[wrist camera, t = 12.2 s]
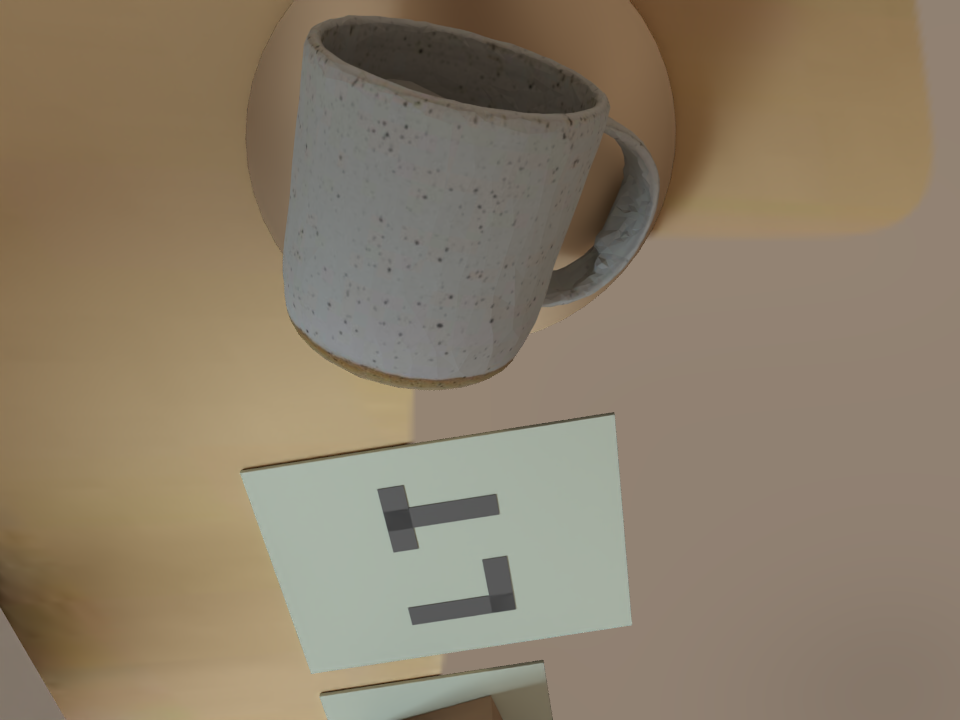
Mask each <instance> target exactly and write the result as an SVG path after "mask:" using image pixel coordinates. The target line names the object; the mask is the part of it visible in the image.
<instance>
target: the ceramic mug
mask: <svg viewBox="0 0 960 720" xmlns="http://www.w3.org/2000/svg"><path fill="white" fill-rule="evenodd" d="M609 111H610V104H609V101H608V98H607V96H606V94H605V93H604V92H602V91H601V90H600V89H599V88H598V87H597V86H596V85H595V84H594V83H592V82H591V81H589V80H588V79H586V78H585V77H583V76H582V75H581V74H579V73H577V72H576V71H574V70H572V69H570V68H568V67H566V66H563V65H561V64H559V63H558V62H556V61H554V60H552V59H550V58H547V57H544V56H541V55H539V54H537V53H535V52H532V51H529V50H527V49H524V48H522V47H519V46H516V45H514V44H511V43H507V42H502V41H498V40H494V39H491V38H487V37H484V36H481V35H478V34H476V33H473V32H469V31H465V30H461V29H456V28H451V27H446V26H441V25H436V24H432V23H429V22H425V21H413V20H410V19H400V18H388V17H381V16H356V15H347V16H344V17H341V18H335V19H329V20H326V21H324V22H321V23H319V24H317V25H315V26H314V27H312V28H311V29H310V31H309V33H308V35H307V38H306V40H305V43H304V48H303V60H302V71H301V82H300V95H299V105H298V112H297V120H296V129H295V140H294V150H293V159H292V171H291V186H290V200H289V207H288V215H287V223H286V231H285V239H284V251H283V277H284V289H285V300H286V306H287V311H288V314H289V317H290V319H291V322H292V324H293V325H294V327H295V329H296V330H297V332H298V334H299V335H300V336H301V337H302V338H303V339H304V341H305V342H306V343H307V344H308V345H309V346H310V347H311V348H312V349H313V350H315V351H316V352H317V353H318V354H320V355H321V356H322V357H323V358H325V359H326V360H328V361H330V362H332V363H334V364H336V365H337V366H339V367H341V368H343V369H345V370H347V371H349V372H351V373H352V374H354V375H356V376H358V377H361V378H364V379H368V380H371V381H375V382H378V383H382V384H386V385H390V386H394V387H398V388H408V389H418V390H445V389H452V388H461V387H465V386H468V385H472V384H476V383H478V382H481V381H484V380H487V379H489V378H491V377H492V376H494V375H496V374H497V373H499V372H501V371H502V370H504V369H505V367H507V366H508V365H509V364H510V363H511V362H512V360H513V359H514V357H515V356H516V354H517V353H518V351H519V350H520V348H521V347H522V345H523V344H524V342H525V340H526V339H527V337H528V335H529V333H530V332H531V330H532V328H533V326H534V325H535V323H536V320H537V318H538V315H539V312H540V310H541V307H553V306H557V305H565V304H569V303H572V302H574V301H577V300H579V299H582V298H585V297H588V296H590V295H592V294H594V293H595V292H597V291H598V290H600V289H601V288H602V287H603V286H605V285H606V284H607V283H609V282H610V281H611V280H612V279H613V278H614V277H615V276H617V275H618V274H619V273H620V272H621V271H622V270H623V269H624V268H625V267H626V265H627V264H628V263H629V261H630V260H631V259H632V257H633V256H634V255H635V253H636V251H637V250H638V248H639V247H640V245H641V244H642V242H643V240H644V238H645V236H646V234H647V232H648V230H649V227H650V225H651V223H652V221H653V218H654V215H655V212H656V209H657V204H658V199H659V192H660V178H659V174H658V170H657V167H656V164H655V162H654V160H653V158H652V156H651V154H650V152H649V150H648V149H647V147H646V146H645V144H644V142H643V141H642V140H640V139H639V138H638V137H637V136H636V135H635V134H634V133H633V132H632V131H631V130H629V129H628V128H626V127H624V126H623V125H621V124H620V123H618V122H617V121H615V120H613V119H612V118H610V117H609V116H608V115H609ZM603 133H605V134H607V135H609V136H610V137H612V138H614V139H615V140H616V142H617V143H618V144H619V146H620V147H621V149H622V152H623V155H624V163H625V165H624V168H623V174H624V179H623V180H622V183H621V187H620V190H619V192H618V194H617V197H616V199H615V202H614V204H613V206H612V208H611V211H610V213H609V215H608V217H607V219H606V222H605V224H604V226H603V229H602V230H601V231H600V232H599V233H598V235H597V236H596V238H595V242H594V246H593V247H592V248H590V249H589V250H588V251H587V252H586V253H585V254H584V255H583V256H582V257H580V258H578V259H577V260H575V261H574V262H572V263H570V264H569V265H567V266H566V267H563V268H561V269H558V270H553V269H554V265H555V262H556V259H557V256H558V254H559V251H560V249H561V246H562V243H563V241H564V238H565V235H566V233H567V230H568V228H569V225H570V222H571V220H572V217H573V215H574V212H575V209H576V207H577V204H578V201H579V199H580V196H581V193H582V190H583V187H584V185H585V182H586V179H587V176H588V173H589V170H590V168H591V165H592V163H593V160H594V158H595V155H596V153H597V150H598V147H599V145H600V142H601V139H602V136H603Z"/></svg>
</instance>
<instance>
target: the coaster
mask: <svg viewBox="0 0 960 720" xmlns="http://www.w3.org/2000/svg"><path fill="white" fill-rule="evenodd" d="M347 15H356V16H381V17H388V18H400V19H410V20H413V21H425V22H429V23H432V24H436V25H441V26H446V27H451V28H456V29H461V30H465V31H469V32H473V33H476V34H478V35H481V36H484V37H487V38H491V39H494V40H498V41H502V42H507V43H511V44H514V45H516V46H519V47H522V48H524V49H527V50H529V51H532V52H535V53H537V54H539V55H541V56H544V57H547V58H550V59H552V60H554V61H556V62H558V63H559V64H561V65H563V66H566V67H568V68H570V69H572V70H574V71H576V72H577V73H579V74H581V75H582V76H583V77H585V78H586V79H588V80H589V81H591V82H592V83H594V84H595V85H596V86H597V87H598V88H599V89H600V90H601V91H602V92H604V93H605V94H606V96H607V98H608V101H609V104H610V111H609V115H608V116H609V117H610V118H612V119H613V120H615V121H617V122H618V123H620V124H621V125H623V126H624V127H626V128H628V129H629V130H631V131H632V132H633V133H634V134H635V135H636V136H637V137H638V138H639V139H640V140H642V141H643V142H644V144H645V146H646V147H647V149H648V150H649V152H650V154H651V156H652V158H653V160H654V162H655V164H656V167H657V170H658V174H659V178H660V192H659V199H658V204H657V209H656V212H655V215H654V218H653V221H652V223H651V225H650V227H649V230H648V232H647V234H646V236H645V238H644V240H643V242H642V244H641V245H640V247H639V248H638V250H637V251H636V253H635V255H634V256H633V257H632V259H633V258H634V257H635V256H636V255H637V253H638V252H639V250H640V249H641V247H642V245H643V244H644V242H645V240H646V239H647V237H648V235H649V234H650V232H651V230H652V229H653V226H654V224H655V222H656V220H657V217H658V215H659V213H660V210H661V208H662V206H663V203H664V200H665V196H666V193H667V190H668V186H669V183H670V180H671V174H672V168H673V162H674V155H675V137H676V121H675V111H674V101H673V94H672V90H671V86H670V82H669V78H668V74H667V69H666V67H665V64H664V62H663V59H662V57H661V54H660V51H659V49H658V46H657V44H656V42H655V40H654V38H653V36H652V34H651V33H650V31H649V29H648V27H647V25H646V24H645V22H644V20H643V18H642V17H641V15H640V14H639V13H638V11H637V10H636V9H635V7H634V6H633V5H632V4H631V2H630V1H629V0H294V1H293V3H292V4H291V6H290V7H289V8H288V10H287V11H286V13H285V14H284V16H283V17H282V18H281V20H280V21H279V23H278V24H277V25H276V27H275V29H274V31H273V33H272V35H271V37H270V39H269V41H268V43H267V45H266V47H265V49H264V51H263V53H262V56H261V58H260V61H259V64H258V67H257V70H256V73H255V76H254V79H253V82H252V87H251V93H250V98H249V103H248V108H247V122H246V149H247V161H248V169H249V174H250V178H251V183H252V187H253V192H254V195H255V198H256V201H257V204H258V206H259V209H260V212H261V215H262V218H263V220H264V222H265V224H266V226H267V228H268V230H269V232H270V234H271V235H272V237H273V239H274V241H275V243H276V245H277V246H278V248H279V249H280V250H281V252H282V253H283V251H284V239H285V231H286V223H287V215H288V207H289V200H290V186H291V171H292V159H293V150H294V140H295V129H296V120H297V112H298V105H299V95H300V82H301V71H302V60H303V48H304V43H305V40H306V38H307V35H308V33H309V31H310V29H311V28H312V27H314V26H315V25H317V24H319V23H321V22H324V21H326V20H329V19H335V18H341V17H344V16H347ZM624 165H625V163H624V155H623V152H622V149H621V147H620V146H619V144H618V143H617V142H616V140H615V139H614V138H612V137H610V136H609V135H607V134H605V133H603V136H602V139H601V142H600V145H599V147H598V150H597V153H596V155H595V158H594V160H593V163H592V165H591V168H590V170H589V173H588V176H587V179H586V182H585V185H584V187H583V190H582V193H581V196H580V199H579V201H578V204H577V207H576V209H575V212H574V215H573V217H572V220H571V222H570V225H569V228H568V230H567V233H566V235H565V238H564V241H563V243H562V246H561V249H560V251H559V254H558V256H557V259H556V262H555V265H554V269H553V270H558V269H561V268H563V267H566V266H567V265H569V264H570V263H572V262H574V261H575V260H577V259H578V258H580V257H582V256H583V255H584V254H585V253H586V252H587V251H588V250H589V249H590V248H592V247H593V246H594V242H595V238H596V236H597V235H598V233H599V232H600V231H601V230H602V229H603V226H604V224H605V222H606V219H607V217H608V215H609V213H610V211H611V208H612V206H613V204H614V202H615V199H616V197H617V194H618V192H619V190H620V187H621V183H622V180H623V179H624V174H623V168H624ZM632 259H631V260H630V261H629V263H628V264H627V265H626V267H625V268H624V269H623V270H622V271H621V272H620V273H619V274H618V275H617V276H615V277H614V278H613V279H612V280H611V281H610V282H609V283H607V284H606V285H605V286H603V287H602V288H601V289H600V290H598V291H597V292H595V293H594V294H592V295H590V296H588V297H585V298H582V299H579V300H577V301H574V302H572V303H569V304H565V305H557V306H553V307H541V310H540V312H539V315H538V318H537V320H536V323H535V325H534V326H533V328H532V330H531V332H530V333H529V334H531V333H534V332H537V331H540V330H542V329H545V328H547V327H549V326H551V325H553V324H555V323H557V322H559V321H562V320H564V319H565V318H567V317H568V316H570V315H572V314H573V313H575V312H576V311H578V310H580V309H581V308H583V307H584V306H586V305H587V304H588V303H590V302H591V301H592V300H593V299H594V298H596V297H597V296H598V295H599V294H601V293H602V292H603V291H605V290H606V289H607V288H608V287H609V285H611V284H612V283H613V282H614V281H615V280H616V278H618V277H619V275H621V274H622V272H623V271H624V270H625V269H626V268H627V266H628V265H629V264H630V262H631V261H632Z"/></svg>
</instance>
